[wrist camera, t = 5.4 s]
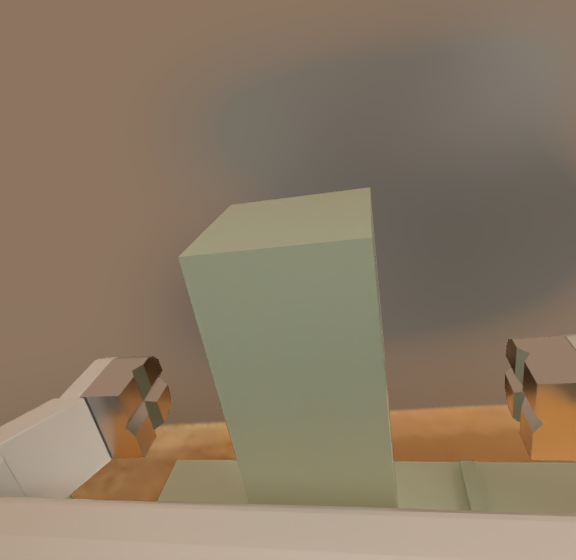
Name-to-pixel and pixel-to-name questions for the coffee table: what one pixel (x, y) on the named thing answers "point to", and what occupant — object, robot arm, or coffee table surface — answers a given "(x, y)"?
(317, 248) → the grooved base with post
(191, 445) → the coffee table surface
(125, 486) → the coffee table surface
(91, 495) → the coffee table surface
